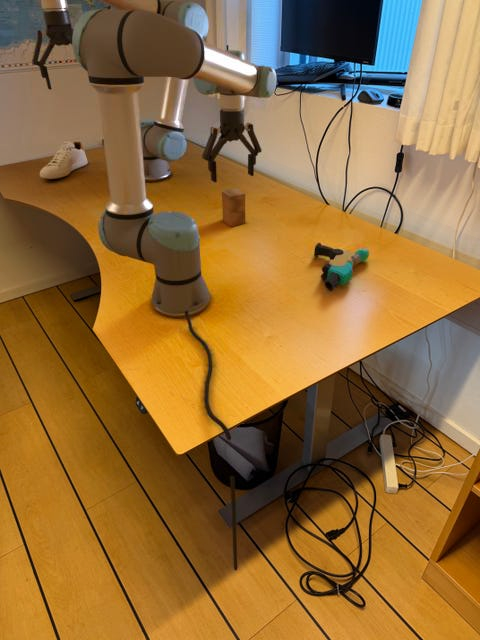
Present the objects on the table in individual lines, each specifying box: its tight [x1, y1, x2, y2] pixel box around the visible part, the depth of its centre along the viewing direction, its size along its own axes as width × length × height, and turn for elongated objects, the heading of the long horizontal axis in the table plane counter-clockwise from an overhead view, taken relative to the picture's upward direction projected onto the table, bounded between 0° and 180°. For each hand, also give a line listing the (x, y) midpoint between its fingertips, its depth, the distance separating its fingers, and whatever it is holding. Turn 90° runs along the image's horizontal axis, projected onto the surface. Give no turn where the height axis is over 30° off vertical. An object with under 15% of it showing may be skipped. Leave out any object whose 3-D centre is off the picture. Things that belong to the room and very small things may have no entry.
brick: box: [221, 187, 246, 227], centre depth 163 cm, size 6×6×11 cm
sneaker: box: [39, 141, 89, 180], centre depth 207 cm, size 10×29×12 cm, turn 163°
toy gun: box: [313, 242, 370, 292], centre depth 136 cm, size 4×26×15 cm
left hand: (71, 86), depth 157 cm, fingers open, 13 cm apart
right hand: (232, 178), depth 157 cm, fingers open, 13 cm apart
